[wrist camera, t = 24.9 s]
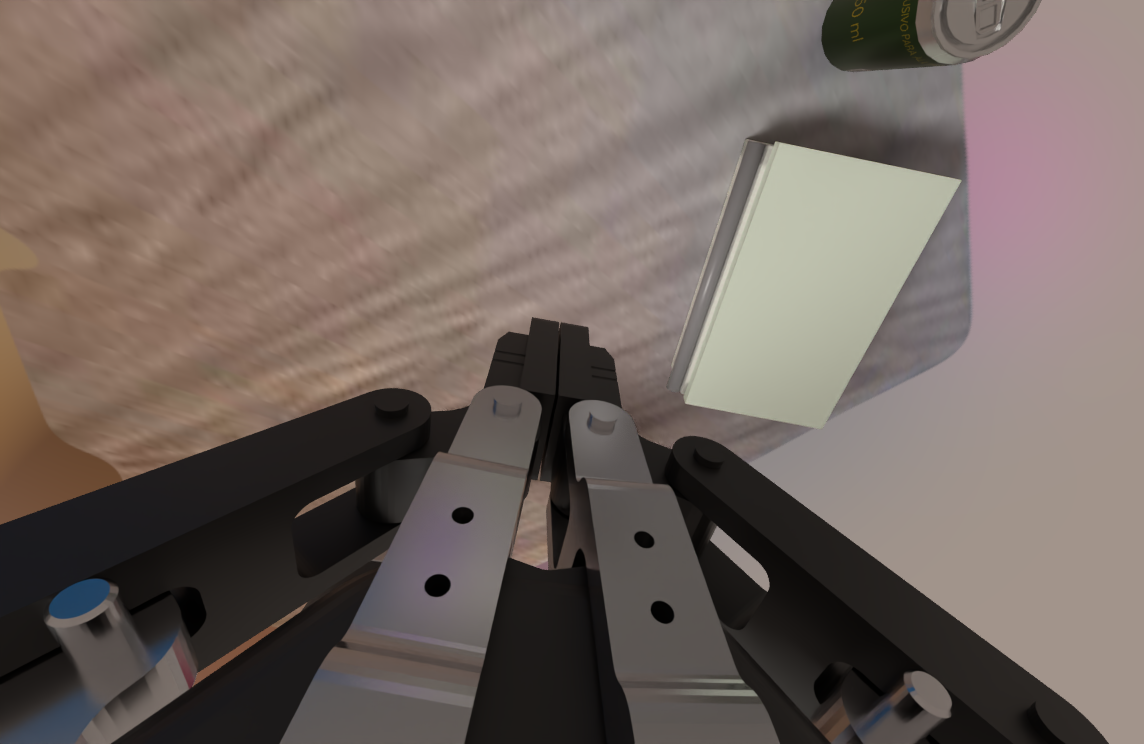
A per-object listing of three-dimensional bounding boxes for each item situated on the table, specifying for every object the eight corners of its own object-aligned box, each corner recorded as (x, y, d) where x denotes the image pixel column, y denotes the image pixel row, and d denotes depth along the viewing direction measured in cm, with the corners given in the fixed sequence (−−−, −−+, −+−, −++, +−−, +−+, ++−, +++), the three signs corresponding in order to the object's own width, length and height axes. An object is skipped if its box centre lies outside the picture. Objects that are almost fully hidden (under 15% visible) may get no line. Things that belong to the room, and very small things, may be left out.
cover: (817, 422, 42) (822, 429, 41) (683, 397, 42) (685, 403, 41) (952, 178, 32) (961, 180, 31) (775, 141, 31) (780, 142, 30)
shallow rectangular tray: (794, 385, 47) (816, 414, 43) (659, 363, 46) (667, 391, 41) (900, 170, 37) (943, 181, 33) (730, 135, 36) (751, 141, 31)
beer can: (900, 53, 33) (1049, 36, 23) (820, 85, 34) (928, 82, 24) (898, -42, 30) (1065, -109, 20) (812, -4, 31) (928, -51, 21)
